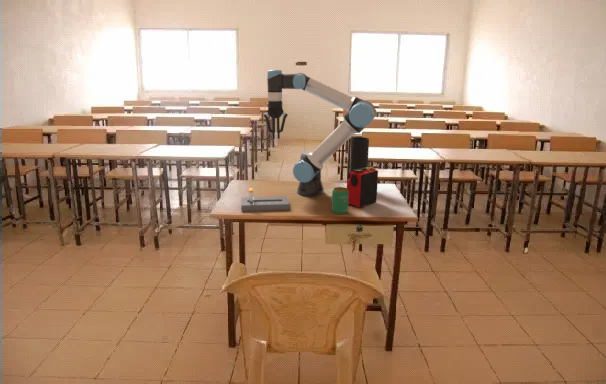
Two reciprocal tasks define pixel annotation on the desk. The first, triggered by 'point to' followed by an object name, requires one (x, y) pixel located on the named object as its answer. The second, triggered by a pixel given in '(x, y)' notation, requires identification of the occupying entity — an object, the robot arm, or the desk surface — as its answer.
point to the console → (265, 203)
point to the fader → (250, 194)
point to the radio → (362, 186)
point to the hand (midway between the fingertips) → (276, 145)
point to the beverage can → (340, 200)
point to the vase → (359, 153)
